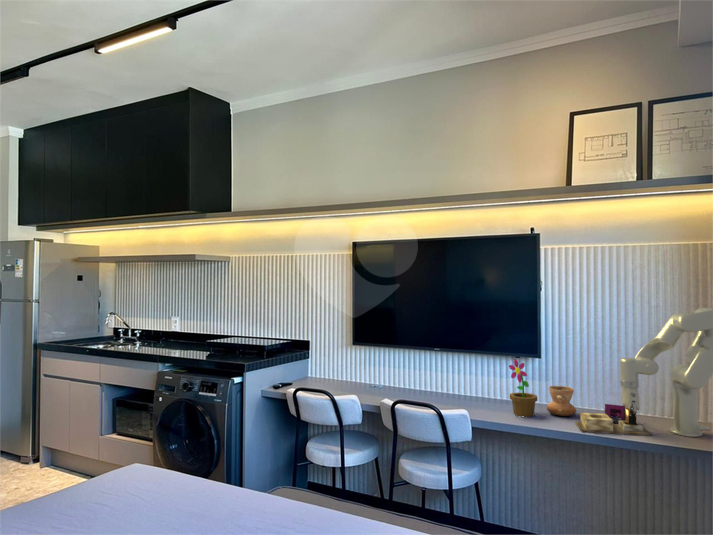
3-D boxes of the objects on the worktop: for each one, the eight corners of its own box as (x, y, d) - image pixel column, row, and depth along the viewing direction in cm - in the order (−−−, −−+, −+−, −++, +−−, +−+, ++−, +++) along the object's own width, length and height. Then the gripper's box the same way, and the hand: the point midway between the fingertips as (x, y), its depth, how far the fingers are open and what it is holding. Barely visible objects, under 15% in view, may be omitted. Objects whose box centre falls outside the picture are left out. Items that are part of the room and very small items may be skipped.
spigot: (633, 427, 234) (633, 408, 234) (636, 430, 230) (636, 410, 231) (624, 427, 235) (624, 408, 235) (627, 429, 231) (626, 410, 231)
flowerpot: (503, 413, 264) (503, 357, 265) (522, 410, 271) (522, 355, 272) (524, 419, 252) (523, 361, 253) (543, 416, 259) (542, 359, 260)
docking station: (641, 427, 238) (641, 414, 238) (652, 436, 224) (652, 422, 225) (575, 423, 244) (575, 411, 244) (582, 432, 231) (581, 419, 231)
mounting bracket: (606, 428, 257) (604, 420, 243) (606, 412, 260) (604, 403, 246) (627, 431, 252) (626, 423, 238) (627, 414, 255) (626, 406, 242)
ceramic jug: (574, 420, 251) (574, 392, 252) (544, 416, 258) (544, 388, 259) (577, 412, 266) (577, 386, 267) (549, 409, 274) (549, 383, 274)
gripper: (644, 388, 224) (645, 428, 224) (631, 381, 241) (632, 418, 240) (626, 387, 226) (627, 427, 225) (615, 380, 242) (616, 417, 242)
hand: (630, 422), depth 233 cm, fingers open, 5 cm apart
